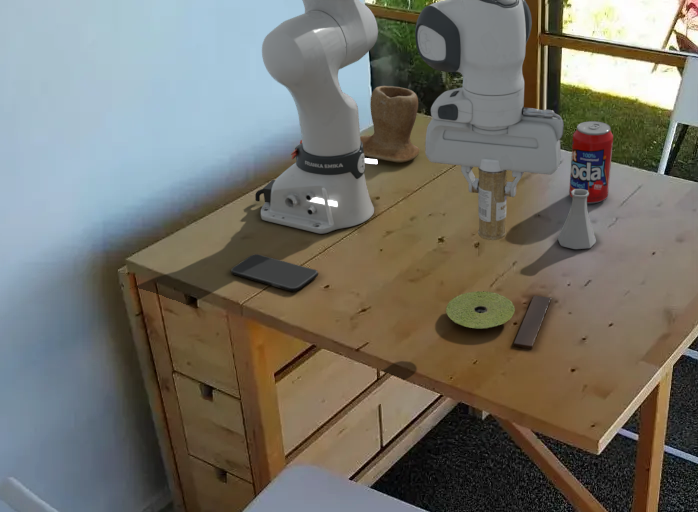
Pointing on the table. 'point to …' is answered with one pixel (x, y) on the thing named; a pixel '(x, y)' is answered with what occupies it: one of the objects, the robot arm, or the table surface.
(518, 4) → the robot arm
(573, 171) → the soda can
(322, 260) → the table surface
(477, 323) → the green flat disc
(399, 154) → the stone cup
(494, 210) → the sprinkles bottle
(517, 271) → the table surface
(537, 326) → the walnut strip
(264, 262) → the smartphone
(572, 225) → the flask
